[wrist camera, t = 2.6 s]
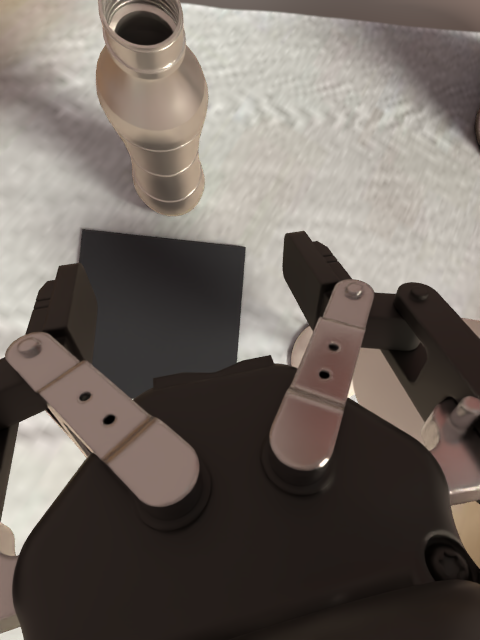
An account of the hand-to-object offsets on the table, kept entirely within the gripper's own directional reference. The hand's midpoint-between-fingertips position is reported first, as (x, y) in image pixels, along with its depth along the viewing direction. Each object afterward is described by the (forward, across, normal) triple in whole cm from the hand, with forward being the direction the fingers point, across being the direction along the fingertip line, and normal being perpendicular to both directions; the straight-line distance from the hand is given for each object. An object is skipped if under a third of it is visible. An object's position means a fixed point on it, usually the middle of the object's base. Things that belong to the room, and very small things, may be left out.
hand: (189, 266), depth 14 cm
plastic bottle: (+24, 0, +7) cm, 24 cm away
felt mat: (+15, +3, +16) cm, 22 cm away
